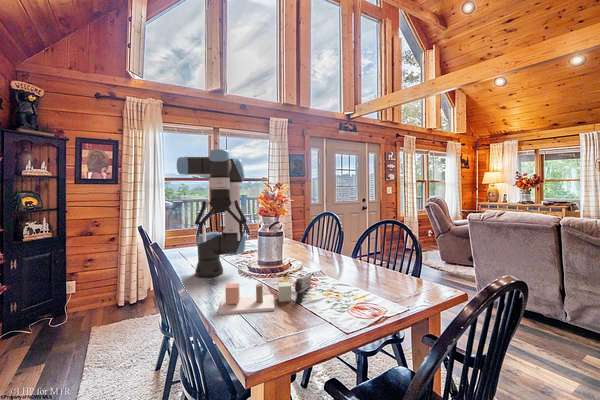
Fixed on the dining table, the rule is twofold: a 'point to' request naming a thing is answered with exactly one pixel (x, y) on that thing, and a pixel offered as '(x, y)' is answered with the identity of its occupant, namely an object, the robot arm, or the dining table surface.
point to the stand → (245, 301)
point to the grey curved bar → (302, 286)
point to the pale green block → (284, 291)
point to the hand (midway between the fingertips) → (221, 241)
